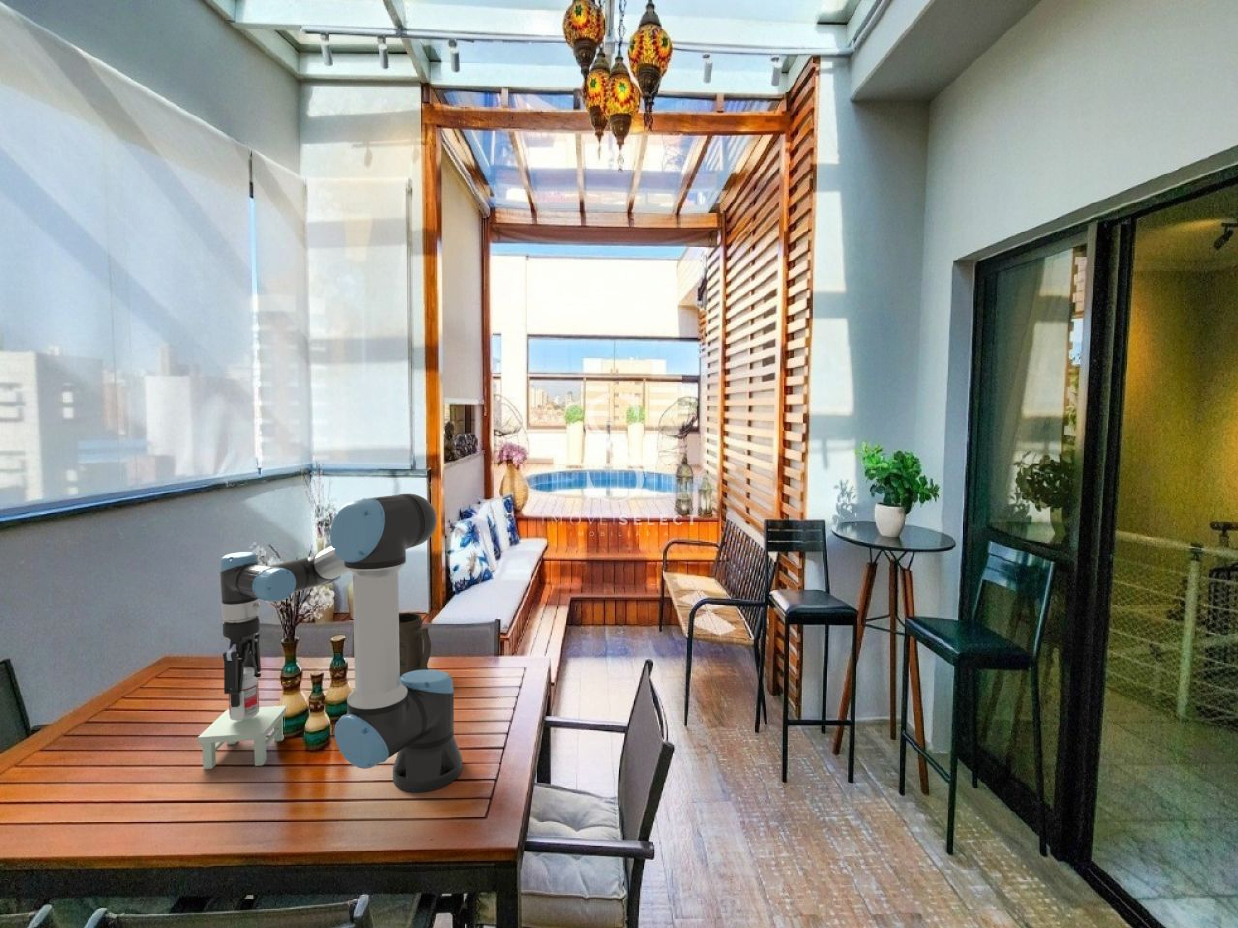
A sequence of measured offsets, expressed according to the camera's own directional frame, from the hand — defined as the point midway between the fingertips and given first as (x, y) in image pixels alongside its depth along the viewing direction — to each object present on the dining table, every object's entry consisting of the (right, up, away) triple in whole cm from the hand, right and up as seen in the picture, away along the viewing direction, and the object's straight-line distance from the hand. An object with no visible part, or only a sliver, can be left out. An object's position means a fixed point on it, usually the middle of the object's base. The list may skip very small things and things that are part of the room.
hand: (244, 711), depth 147 cm
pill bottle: (0, -1, 0) cm, 1 cm away
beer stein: (+26, -8, +43) cm, 51 cm away
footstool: (0, -10, +1) cm, 10 cm away
